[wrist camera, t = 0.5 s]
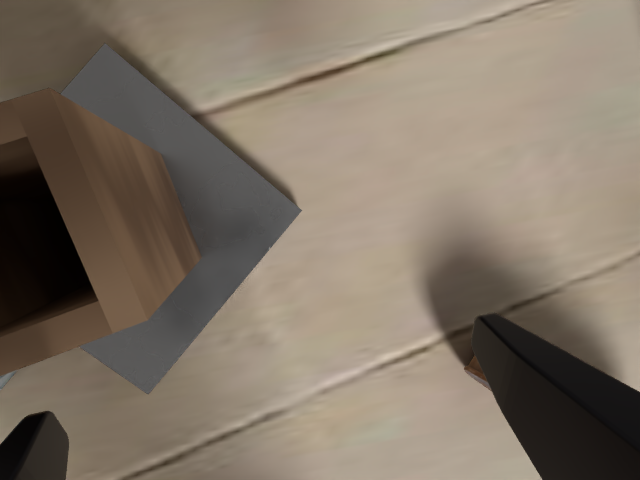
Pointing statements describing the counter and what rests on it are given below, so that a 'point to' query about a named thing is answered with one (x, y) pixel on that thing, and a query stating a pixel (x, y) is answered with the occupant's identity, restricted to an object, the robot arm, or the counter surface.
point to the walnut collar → (80, 229)
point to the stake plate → (198, 205)
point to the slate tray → (5, 378)
